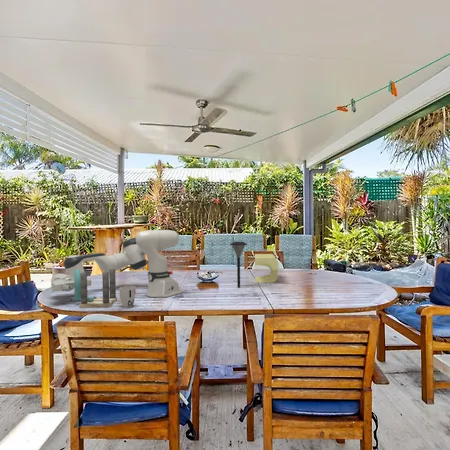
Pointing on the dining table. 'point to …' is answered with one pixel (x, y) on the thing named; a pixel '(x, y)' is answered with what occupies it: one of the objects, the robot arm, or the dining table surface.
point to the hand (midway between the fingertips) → (77, 286)
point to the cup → (127, 296)
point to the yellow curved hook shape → (267, 261)
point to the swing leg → (78, 286)
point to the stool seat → (105, 300)
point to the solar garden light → (238, 257)
